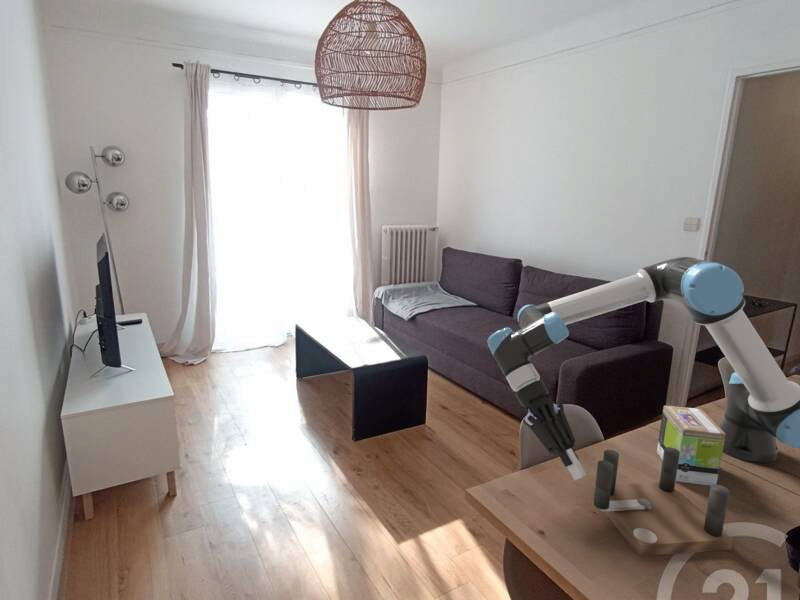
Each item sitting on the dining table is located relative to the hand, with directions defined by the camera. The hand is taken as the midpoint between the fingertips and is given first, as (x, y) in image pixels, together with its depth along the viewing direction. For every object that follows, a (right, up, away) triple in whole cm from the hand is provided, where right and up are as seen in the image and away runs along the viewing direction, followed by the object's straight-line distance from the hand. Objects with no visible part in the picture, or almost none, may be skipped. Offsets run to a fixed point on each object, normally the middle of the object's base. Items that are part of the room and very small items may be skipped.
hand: (580, 477), depth 108 cm
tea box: (+35, -5, +18) cm, 40 cm away
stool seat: (+16, -9, -2) cm, 18 cm away
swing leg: (+8, -6, -2) cm, 10 cm away
